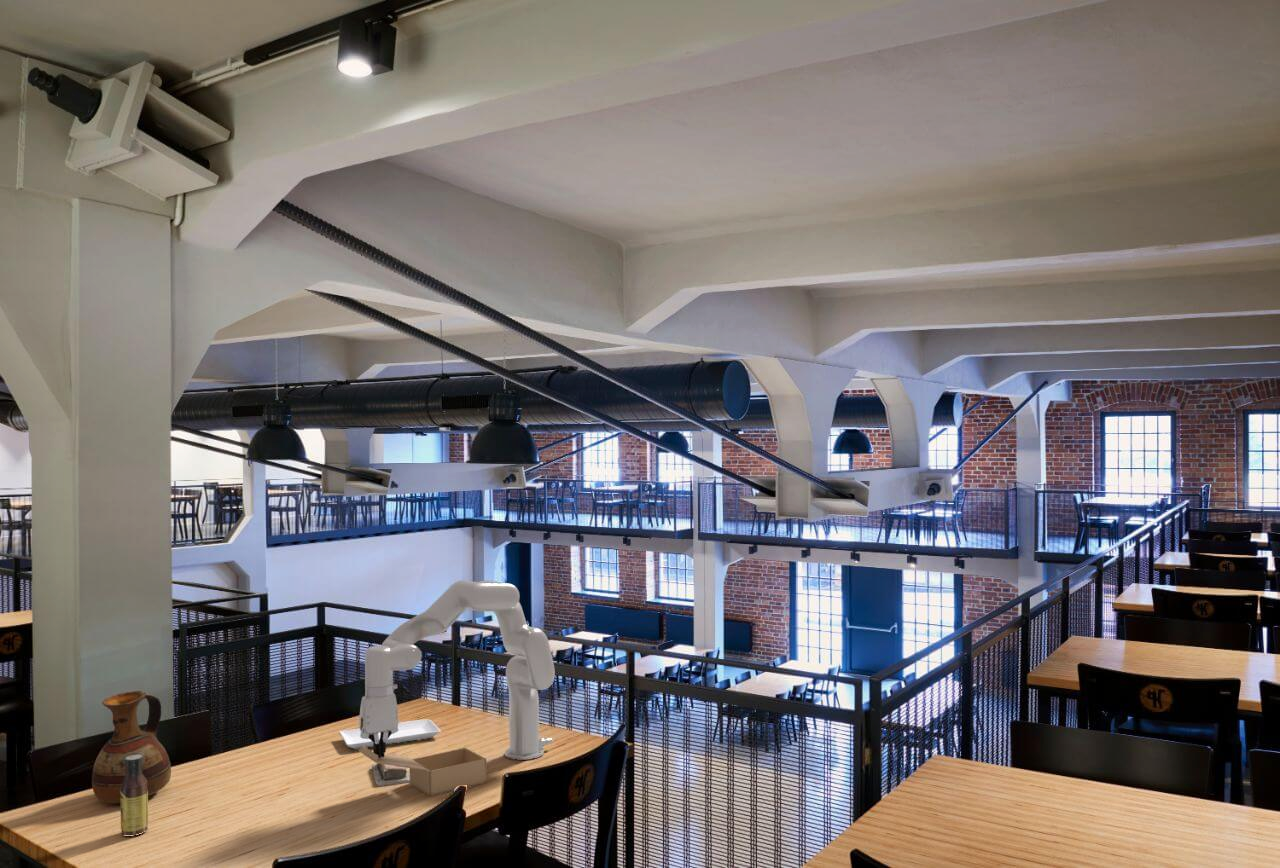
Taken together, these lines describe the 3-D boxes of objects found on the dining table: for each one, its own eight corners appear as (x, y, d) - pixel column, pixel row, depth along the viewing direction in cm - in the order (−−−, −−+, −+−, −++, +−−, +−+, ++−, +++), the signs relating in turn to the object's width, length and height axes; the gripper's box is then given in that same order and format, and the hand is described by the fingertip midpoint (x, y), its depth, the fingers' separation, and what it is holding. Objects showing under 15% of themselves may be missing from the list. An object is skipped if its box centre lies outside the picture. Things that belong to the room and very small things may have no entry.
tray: (441, 740, 319) (441, 730, 319) (346, 754, 304) (346, 743, 305) (429, 727, 334) (429, 718, 334) (338, 741, 320) (338, 730, 320)
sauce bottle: (127, 829, 244) (127, 752, 244) (152, 828, 244) (152, 751, 245) (115, 839, 237) (115, 760, 238) (141, 838, 238) (141, 759, 238)
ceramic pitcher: (75, 804, 262) (75, 697, 263) (136, 781, 281) (136, 681, 282) (127, 812, 255) (127, 703, 256) (186, 788, 274) (186, 685, 275)
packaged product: (370, 754, 290) (403, 749, 293) (370, 769, 290) (403, 765, 293) (377, 771, 273) (411, 767, 277) (377, 788, 273) (411, 783, 277)
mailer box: (465, 770, 286) (465, 747, 286) (486, 782, 275) (486, 758, 275) (409, 783, 276) (409, 759, 276) (429, 796, 264) (429, 771, 264)
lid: (360, 744, 267) (358, 751, 266) (378, 756, 256) (376, 763, 256) (409, 752, 275) (407, 758, 275) (428, 764, 265) (426, 770, 264)
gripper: (399, 684, 271) (399, 747, 271) (348, 692, 262) (348, 758, 262) (409, 689, 265) (410, 754, 265) (357, 698, 256) (358, 765, 256)
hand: (379, 756), depth 263 cm, fingers closed
